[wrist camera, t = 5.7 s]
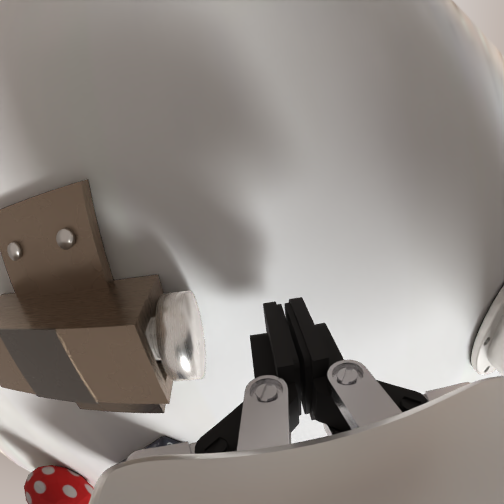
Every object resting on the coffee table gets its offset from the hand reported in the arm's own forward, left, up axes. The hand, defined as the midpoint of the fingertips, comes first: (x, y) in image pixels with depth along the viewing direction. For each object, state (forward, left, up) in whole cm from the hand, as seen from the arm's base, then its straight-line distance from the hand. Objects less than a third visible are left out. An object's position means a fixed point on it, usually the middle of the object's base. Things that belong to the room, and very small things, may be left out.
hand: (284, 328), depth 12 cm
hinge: (+12, 0, -3) cm, 12 cm away
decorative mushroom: (+31, +26, -3) cm, 41 cm away
